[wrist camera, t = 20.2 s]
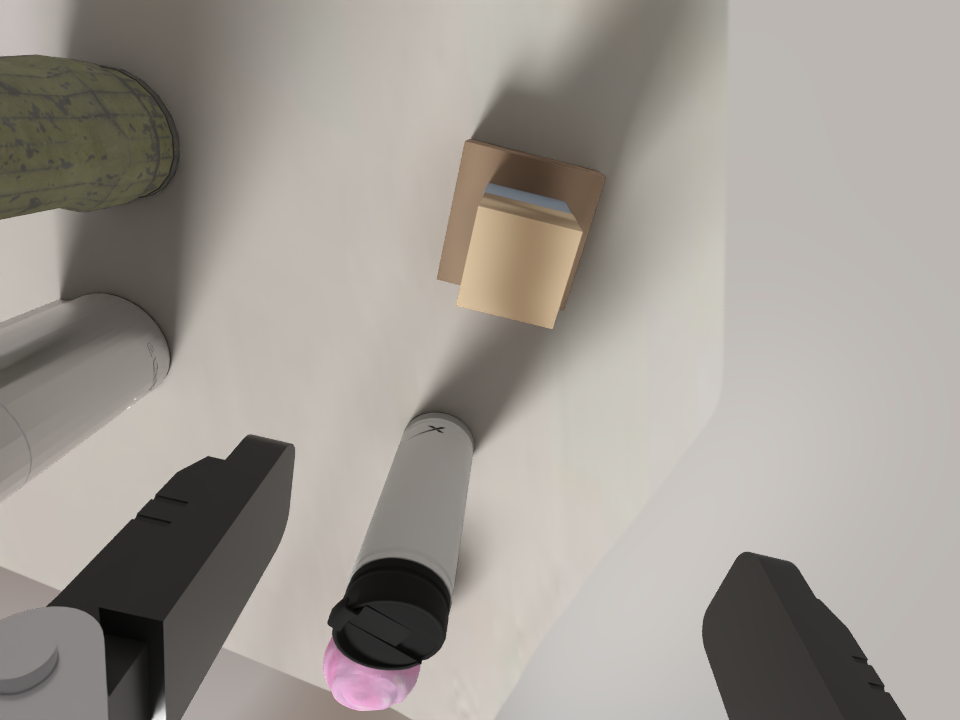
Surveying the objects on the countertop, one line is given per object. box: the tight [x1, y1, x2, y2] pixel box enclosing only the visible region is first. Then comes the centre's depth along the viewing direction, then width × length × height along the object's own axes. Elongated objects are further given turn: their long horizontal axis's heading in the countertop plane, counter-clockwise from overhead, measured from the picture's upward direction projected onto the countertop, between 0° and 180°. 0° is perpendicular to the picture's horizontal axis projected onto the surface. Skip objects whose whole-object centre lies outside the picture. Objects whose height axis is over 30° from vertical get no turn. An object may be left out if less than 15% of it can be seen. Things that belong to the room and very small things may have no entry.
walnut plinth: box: [437, 139, 606, 310], centre depth 37 cm, size 9×9×4 cm
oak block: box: [456, 192, 583, 329], centre depth 28 cm, size 5×5×5 cm
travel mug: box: [328, 412, 474, 671], centre depth 38 cm, size 6×7×20 cm
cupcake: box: [323, 636, 420, 711], centre depth 51 cm, size 9×9×10 cm
